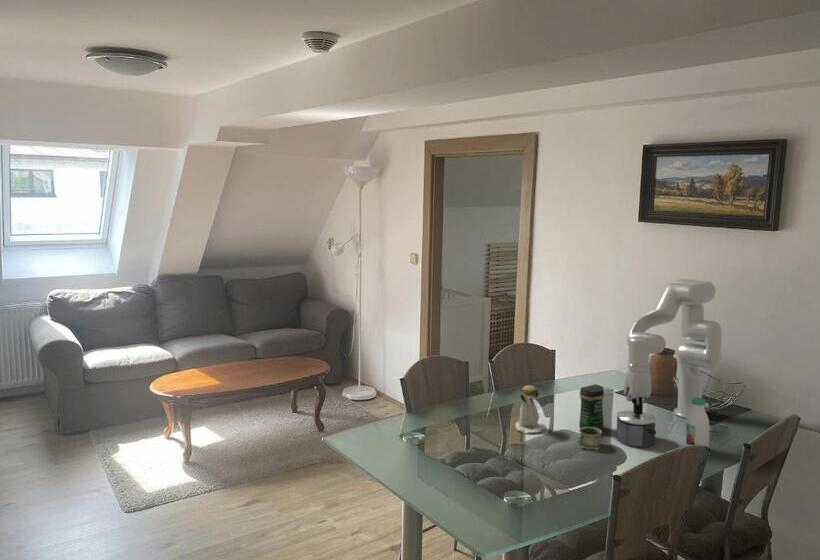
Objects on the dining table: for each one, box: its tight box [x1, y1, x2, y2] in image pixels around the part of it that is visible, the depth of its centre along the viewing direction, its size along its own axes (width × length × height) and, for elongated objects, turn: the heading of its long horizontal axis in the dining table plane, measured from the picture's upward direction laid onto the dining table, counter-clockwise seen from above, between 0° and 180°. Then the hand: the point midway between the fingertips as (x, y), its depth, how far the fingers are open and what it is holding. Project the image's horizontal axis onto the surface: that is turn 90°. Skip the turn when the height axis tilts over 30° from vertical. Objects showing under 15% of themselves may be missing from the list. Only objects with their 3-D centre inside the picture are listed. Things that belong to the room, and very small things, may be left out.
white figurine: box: [515, 385, 547, 434], centre depth 262 cm, size 12×13×18 cm
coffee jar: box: [578, 383, 605, 431], centre depth 259 cm, size 10×8×19 cm
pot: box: [616, 418, 657, 448], centre depth 246 cm, size 15×20×8 cm
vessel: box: [577, 427, 604, 450], centre depth 242 cm, size 12×9×6 cm
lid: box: [616, 410, 657, 425], centre depth 245 cm, size 15×14×2 cm
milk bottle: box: [685, 398, 710, 448], centre depth 234 cm, size 8×8×20 cm
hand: (637, 413), depth 245 cm, fingers closed
